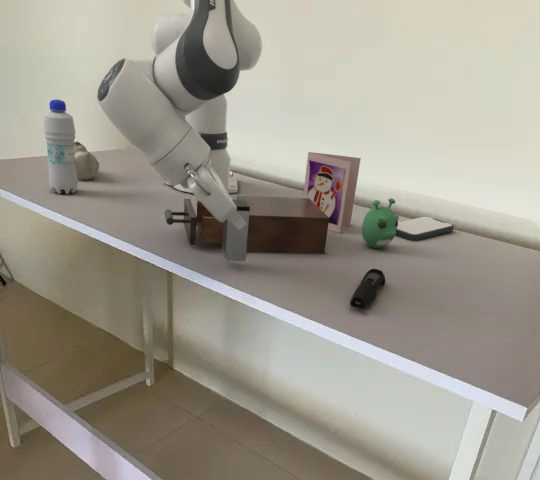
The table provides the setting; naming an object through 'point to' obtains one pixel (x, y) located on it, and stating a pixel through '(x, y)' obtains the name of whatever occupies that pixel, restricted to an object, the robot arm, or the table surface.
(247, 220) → the grey block
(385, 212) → the alien toy
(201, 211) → the drawer
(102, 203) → the table surface
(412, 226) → the phone case
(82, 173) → the ceramic sculpture
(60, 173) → the bottle
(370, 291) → the electric trimmer
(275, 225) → the cabinet
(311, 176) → the greeting card
